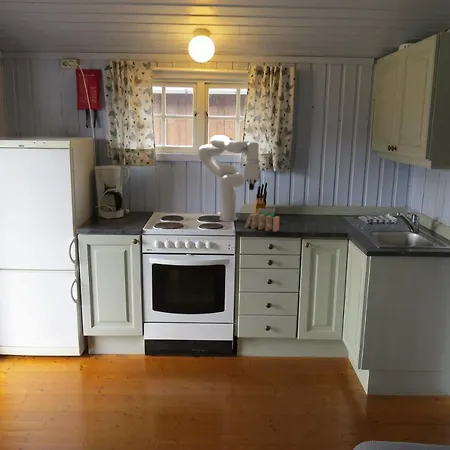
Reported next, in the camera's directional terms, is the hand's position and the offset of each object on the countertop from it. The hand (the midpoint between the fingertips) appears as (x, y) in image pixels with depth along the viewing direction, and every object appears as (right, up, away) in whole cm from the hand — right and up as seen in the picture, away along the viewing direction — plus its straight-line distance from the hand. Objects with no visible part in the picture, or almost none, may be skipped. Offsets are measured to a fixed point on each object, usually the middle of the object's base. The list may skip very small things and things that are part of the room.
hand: (251, 189), depth 309 cm
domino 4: (+10, -26, -11) cm, 30 cm away
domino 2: (+1, -25, -6) cm, 26 cm away
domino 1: (-3, -24, -4) cm, 25 cm away
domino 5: (+14, -27, -13) cm, 33 cm away
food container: (+12, -22, +11) cm, 27 cm away
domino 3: (+6, -26, -8) cm, 28 cm away
